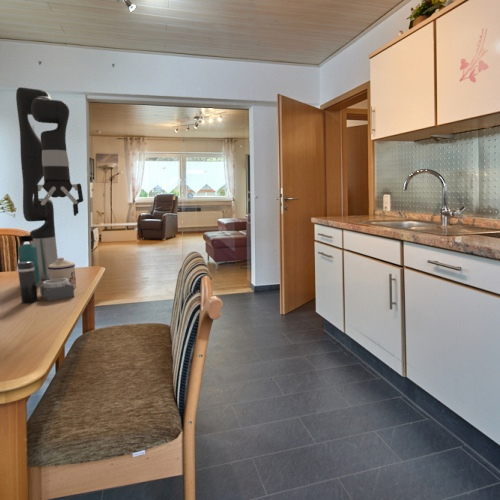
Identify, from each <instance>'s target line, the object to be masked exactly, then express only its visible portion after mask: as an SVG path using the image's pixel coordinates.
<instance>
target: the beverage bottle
mask: <svg viewBox="0 0 500 500" xmlns="http://www.w3.org/2000/svg"><path fill="white" fill-rule="evenodd" d="M19 239H20V240H19V241H20V242H22V243H25V244H20V245H19V246H18V248H17V251H18V262H19V263H20V262H25V261H32V262H34V268H35V279H36V286H37V285H41V281H42V280H40V272H39V264H38V255H37V246H35V245H34V244H31V243H27V242H31V241H33V238H32V236H31V235H30V234H26V235H25V234H24V235H21V236H20V237H19Z"/></svg>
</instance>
